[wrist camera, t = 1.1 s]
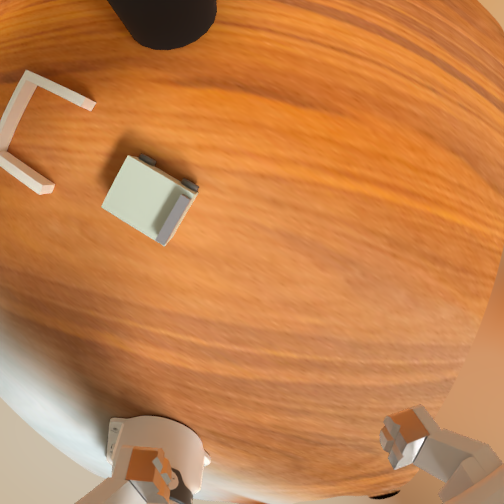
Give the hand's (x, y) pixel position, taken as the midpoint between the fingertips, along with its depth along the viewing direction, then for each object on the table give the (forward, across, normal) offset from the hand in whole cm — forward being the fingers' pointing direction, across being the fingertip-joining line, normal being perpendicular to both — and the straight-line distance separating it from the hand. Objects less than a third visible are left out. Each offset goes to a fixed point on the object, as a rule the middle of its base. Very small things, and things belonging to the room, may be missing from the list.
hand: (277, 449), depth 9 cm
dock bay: (+27, +24, -18) cm, 40 cm away
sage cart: (+27, +9, -7) cm, 29 cm away
